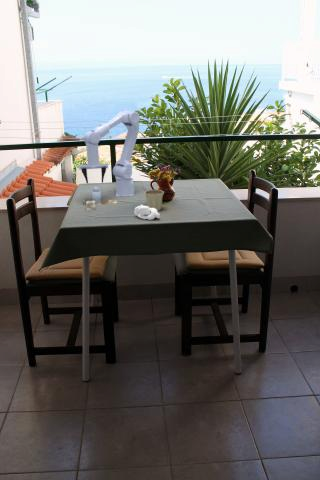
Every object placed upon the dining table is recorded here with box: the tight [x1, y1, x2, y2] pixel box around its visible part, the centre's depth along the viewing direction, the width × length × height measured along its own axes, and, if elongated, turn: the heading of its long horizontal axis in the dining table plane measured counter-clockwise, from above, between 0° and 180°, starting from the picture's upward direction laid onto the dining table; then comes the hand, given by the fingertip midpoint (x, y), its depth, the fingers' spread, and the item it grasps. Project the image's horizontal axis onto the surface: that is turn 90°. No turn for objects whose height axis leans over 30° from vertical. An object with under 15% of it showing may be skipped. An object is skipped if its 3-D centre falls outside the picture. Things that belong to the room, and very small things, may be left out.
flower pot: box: [144, 189, 165, 212], centre depth 239 cm, size 9×9×9 cm
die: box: [85, 200, 96, 211], centre depth 242 cm, size 4×4×4 cm
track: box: [82, 198, 118, 206], centre depth 253 cm, size 17×6×2 cm, turn 96°
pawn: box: [91, 186, 102, 205], centre depth 251 cm, size 4×4×8 cm
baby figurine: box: [133, 203, 161, 221], centre depth 227 cm, size 9×12×8 cm
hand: (94, 182), depth 253 cm, fingers open, 7 cm apart
